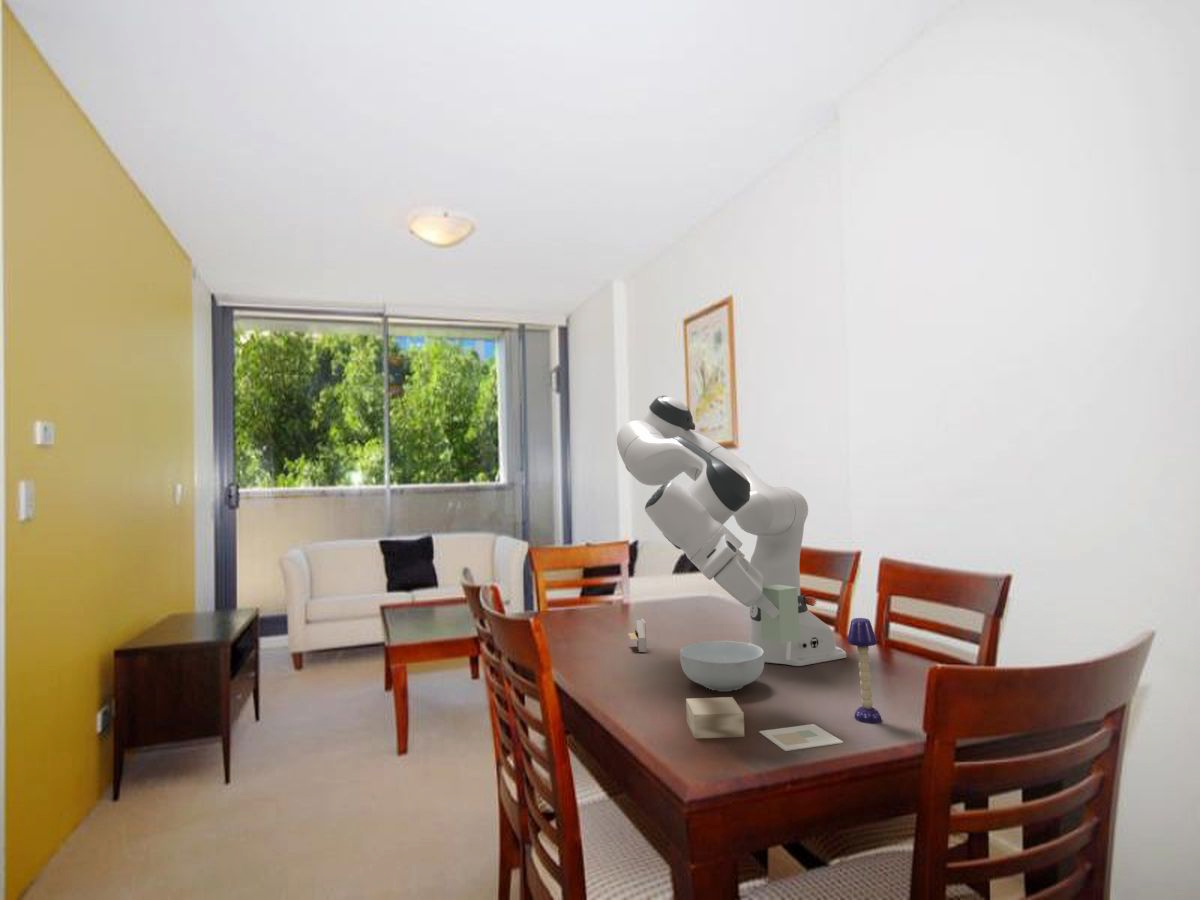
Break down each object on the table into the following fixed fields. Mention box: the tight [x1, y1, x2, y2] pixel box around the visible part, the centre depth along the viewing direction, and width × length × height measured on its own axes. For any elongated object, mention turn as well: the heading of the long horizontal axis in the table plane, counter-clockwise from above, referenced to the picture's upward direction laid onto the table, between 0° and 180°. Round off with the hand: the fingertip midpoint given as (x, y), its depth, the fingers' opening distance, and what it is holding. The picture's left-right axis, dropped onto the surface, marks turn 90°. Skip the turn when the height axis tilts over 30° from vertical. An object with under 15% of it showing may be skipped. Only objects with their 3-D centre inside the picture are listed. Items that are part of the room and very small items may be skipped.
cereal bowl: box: [679, 640, 765, 692], centre depth 134 cm, size 17×17×7 cm
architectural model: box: [628, 618, 647, 653], centre depth 165 cm, size 3×7×7 cm, turn 5°
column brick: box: [761, 585, 799, 643], centre depth 118 cm, size 4×4×9 cm
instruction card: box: [758, 723, 844, 752], centre depth 106 cm, size 10×8×1 cm
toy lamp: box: [847, 617, 882, 724], centre depth 114 cm, size 5×5×17 cm
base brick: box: [685, 696, 745, 739], centre depth 111 cm, size 8×8×4 cm
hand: (777, 611), depth 118 cm, fingers closed on column brick, 6 cm apart
